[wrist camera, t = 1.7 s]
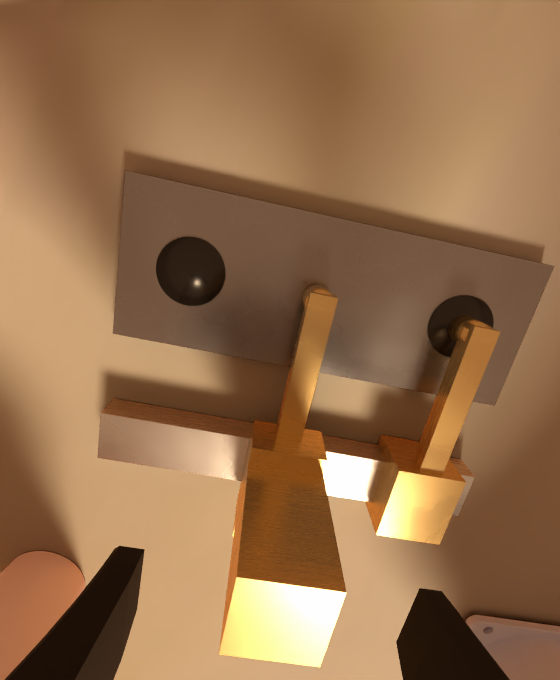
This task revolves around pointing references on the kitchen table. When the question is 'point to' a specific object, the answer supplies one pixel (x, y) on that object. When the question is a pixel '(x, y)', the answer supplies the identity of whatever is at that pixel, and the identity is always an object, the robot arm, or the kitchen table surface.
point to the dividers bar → (331, 448)
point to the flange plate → (304, 271)
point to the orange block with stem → (286, 522)
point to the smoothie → (33, 602)
